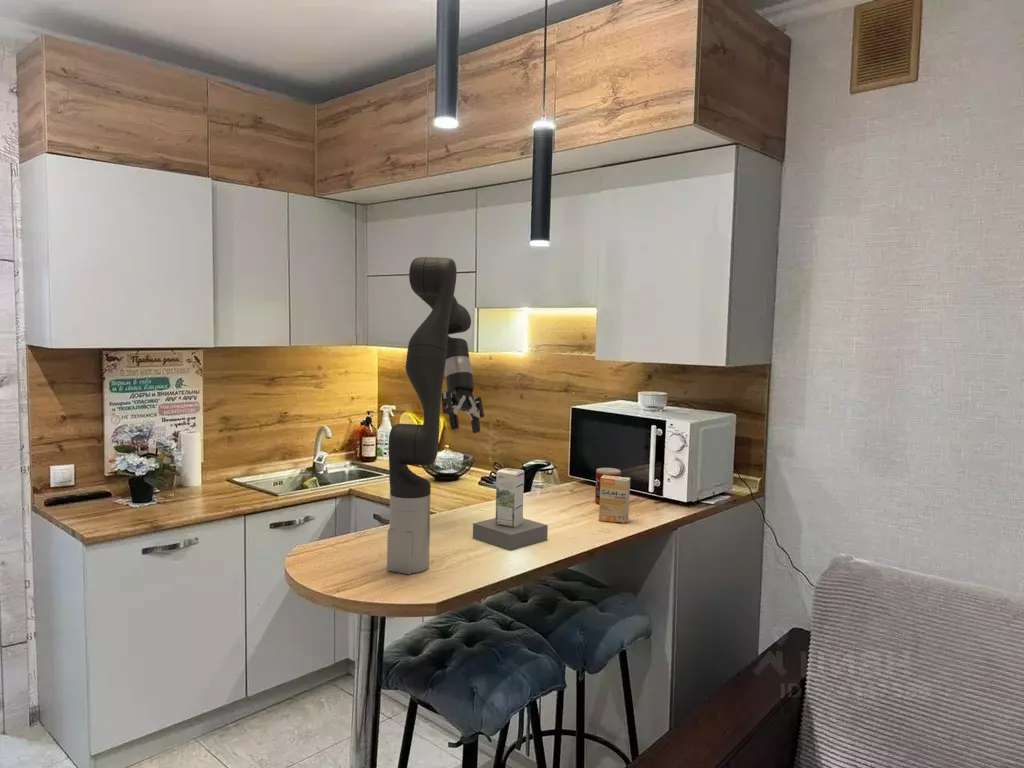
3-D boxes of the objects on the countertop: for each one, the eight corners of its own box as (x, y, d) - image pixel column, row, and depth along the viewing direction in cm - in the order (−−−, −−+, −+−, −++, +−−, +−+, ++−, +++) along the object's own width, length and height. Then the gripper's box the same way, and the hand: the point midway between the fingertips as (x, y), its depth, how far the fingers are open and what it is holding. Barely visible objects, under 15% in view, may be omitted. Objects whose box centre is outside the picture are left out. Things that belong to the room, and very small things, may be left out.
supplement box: (598, 521, 210) (599, 477, 209) (601, 517, 214) (603, 474, 213) (626, 524, 207) (627, 479, 206) (628, 520, 212) (630, 476, 211)
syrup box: (523, 523, 191) (525, 469, 189) (513, 528, 185) (515, 473, 184) (504, 520, 193) (505, 467, 192) (494, 525, 188) (495, 470, 187)
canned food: (591, 500, 235) (592, 467, 234) (614, 500, 237) (615, 467, 236) (599, 506, 227) (601, 472, 227) (623, 505, 229) (624, 472, 229)
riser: (510, 550, 180) (510, 534, 179) (472, 538, 189) (473, 523, 189) (547, 539, 190) (547, 525, 189) (509, 528, 199) (510, 514, 199)
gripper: (451, 366, 192) (458, 424, 188) (485, 375, 203) (493, 430, 198) (431, 375, 197) (438, 432, 192) (466, 383, 208) (473, 437, 203)
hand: (466, 431), depth 195 cm, fingers open, 8 cm apart
